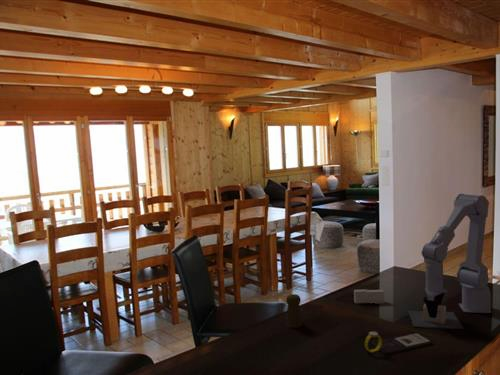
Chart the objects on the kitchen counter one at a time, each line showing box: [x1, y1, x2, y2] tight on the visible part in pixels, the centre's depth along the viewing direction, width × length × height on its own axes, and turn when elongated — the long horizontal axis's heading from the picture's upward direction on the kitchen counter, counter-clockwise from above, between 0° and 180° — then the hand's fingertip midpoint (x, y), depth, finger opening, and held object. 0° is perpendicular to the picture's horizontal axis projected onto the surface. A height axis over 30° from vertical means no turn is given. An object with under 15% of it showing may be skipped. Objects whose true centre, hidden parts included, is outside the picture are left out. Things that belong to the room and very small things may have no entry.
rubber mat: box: [407, 310, 464, 330], centre depth 157 cm, size 16×14×1 cm
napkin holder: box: [353, 288, 385, 305], centre depth 178 cm, size 15×11×6 cm
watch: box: [364, 331, 383, 354], centre depth 137 cm, size 6×3×6 cm, turn 114°
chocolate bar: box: [368, 331, 434, 356], centre depth 141 cm, size 9×1×18 cm
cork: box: [285, 293, 304, 329], centre depth 160 cm, size 6×6×11 cm
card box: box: [422, 303, 447, 324], centre depth 156 cm, size 4×7×5 cm, turn 58°
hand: (434, 313), depth 156 cm, fingers open, 7 cm apart
